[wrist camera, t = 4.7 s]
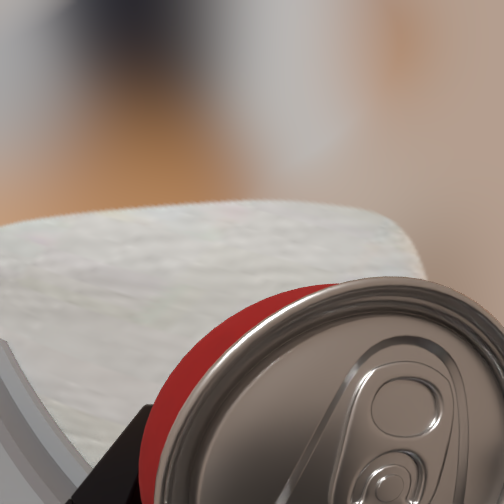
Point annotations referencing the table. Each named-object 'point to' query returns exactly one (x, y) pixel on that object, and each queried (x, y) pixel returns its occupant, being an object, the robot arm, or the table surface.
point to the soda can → (335, 402)
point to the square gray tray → (32, 444)
